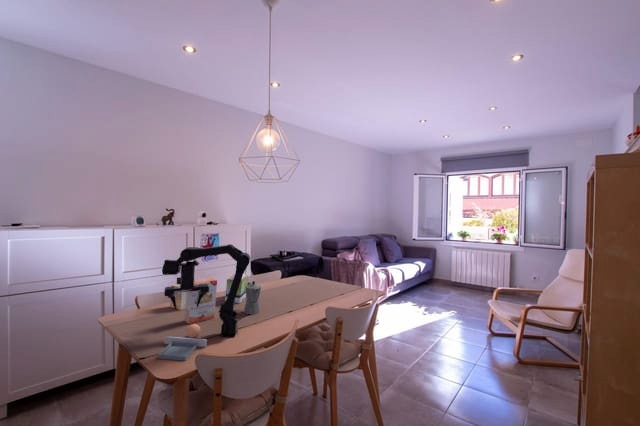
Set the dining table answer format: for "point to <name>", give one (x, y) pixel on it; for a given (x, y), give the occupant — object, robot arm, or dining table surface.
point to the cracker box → (201, 302)
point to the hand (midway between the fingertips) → (186, 307)
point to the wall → (186, 341)
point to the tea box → (241, 290)
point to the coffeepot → (252, 298)
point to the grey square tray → (177, 351)
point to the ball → (193, 330)
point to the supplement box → (179, 299)
